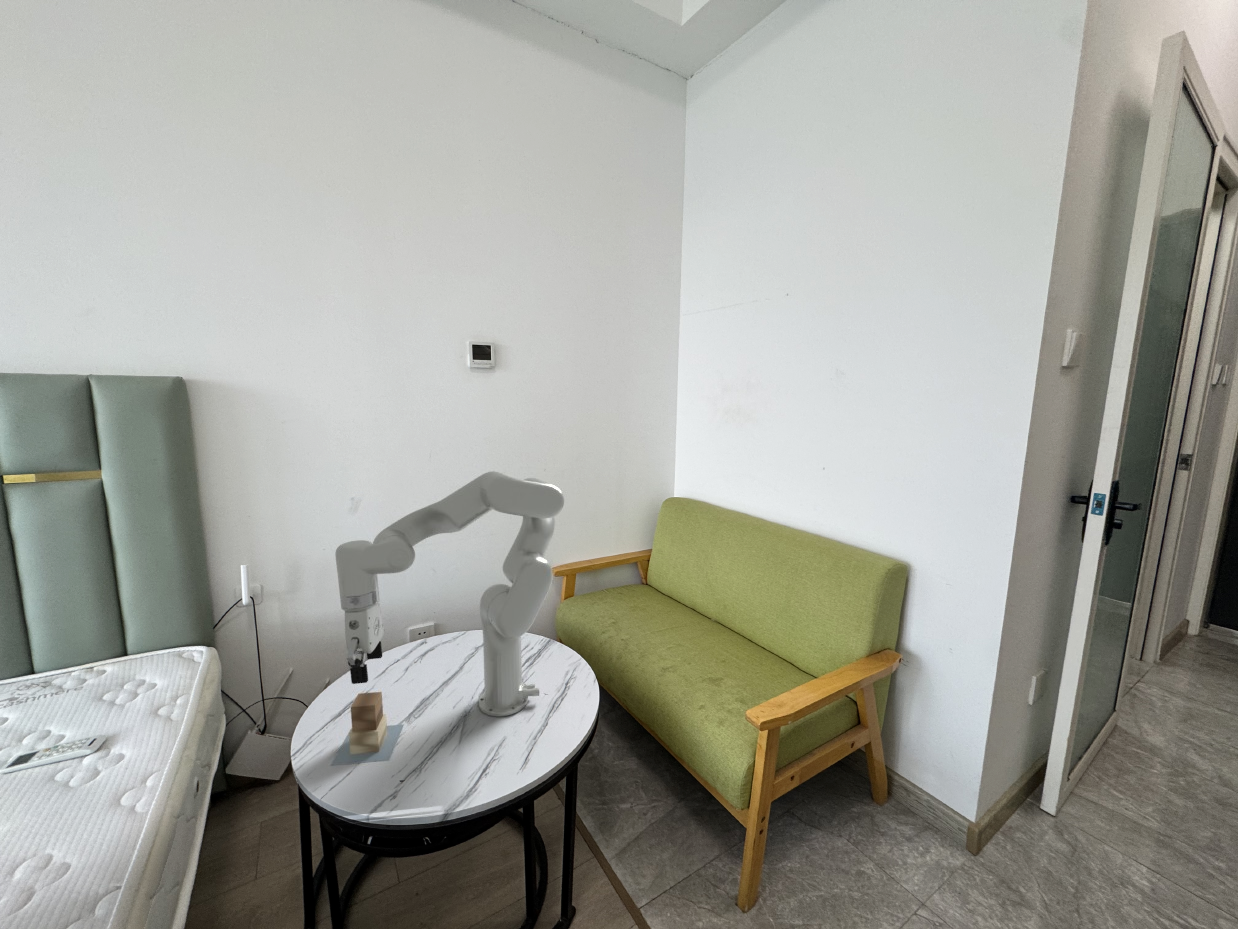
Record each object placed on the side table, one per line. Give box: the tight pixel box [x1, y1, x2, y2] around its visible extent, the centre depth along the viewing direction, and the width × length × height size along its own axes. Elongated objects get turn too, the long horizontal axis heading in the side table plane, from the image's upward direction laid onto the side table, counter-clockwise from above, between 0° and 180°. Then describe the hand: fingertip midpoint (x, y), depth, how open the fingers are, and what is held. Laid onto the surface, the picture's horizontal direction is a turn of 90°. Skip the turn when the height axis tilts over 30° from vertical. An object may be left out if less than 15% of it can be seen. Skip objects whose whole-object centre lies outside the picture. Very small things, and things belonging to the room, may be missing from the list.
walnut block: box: [350, 691, 384, 732], centre depth 114 cm, size 5×5×6 cm
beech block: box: [348, 713, 388, 754], centre depth 114 cm, size 6×6×5 cm
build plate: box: [330, 723, 405, 767], centre depth 115 cm, size 12×12×1 cm
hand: (367, 669), depth 112 cm, fingers open, 9 cm apart
